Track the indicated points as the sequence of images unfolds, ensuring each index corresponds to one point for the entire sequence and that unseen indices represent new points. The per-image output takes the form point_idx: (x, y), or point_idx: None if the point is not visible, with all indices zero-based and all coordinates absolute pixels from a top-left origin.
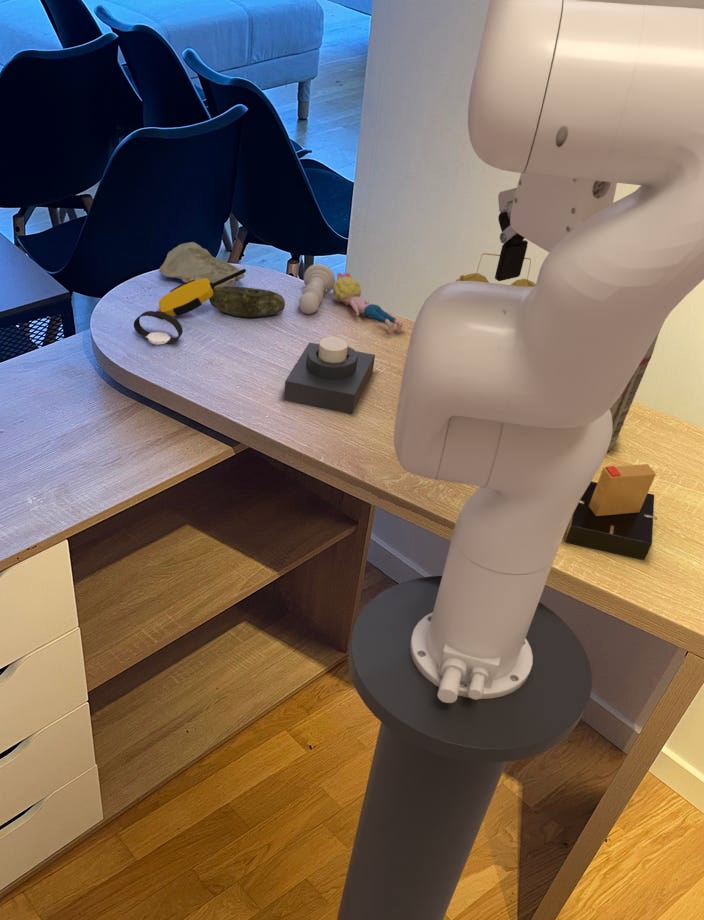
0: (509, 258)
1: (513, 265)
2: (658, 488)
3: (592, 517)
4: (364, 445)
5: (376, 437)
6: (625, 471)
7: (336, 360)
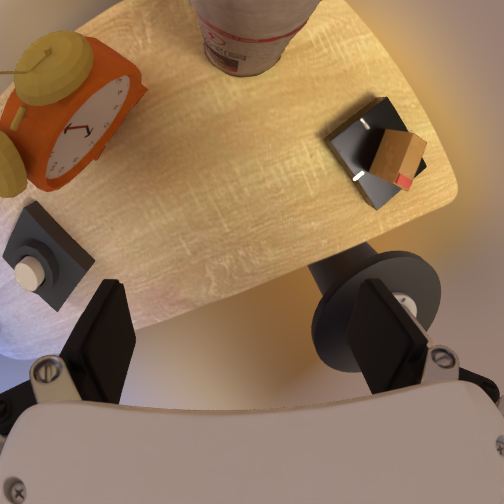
0: (118, 373)
1: (118, 336)
2: (356, 55)
3: (380, 182)
4: (148, 279)
5: (139, 261)
6: (410, 168)
7: (43, 276)
